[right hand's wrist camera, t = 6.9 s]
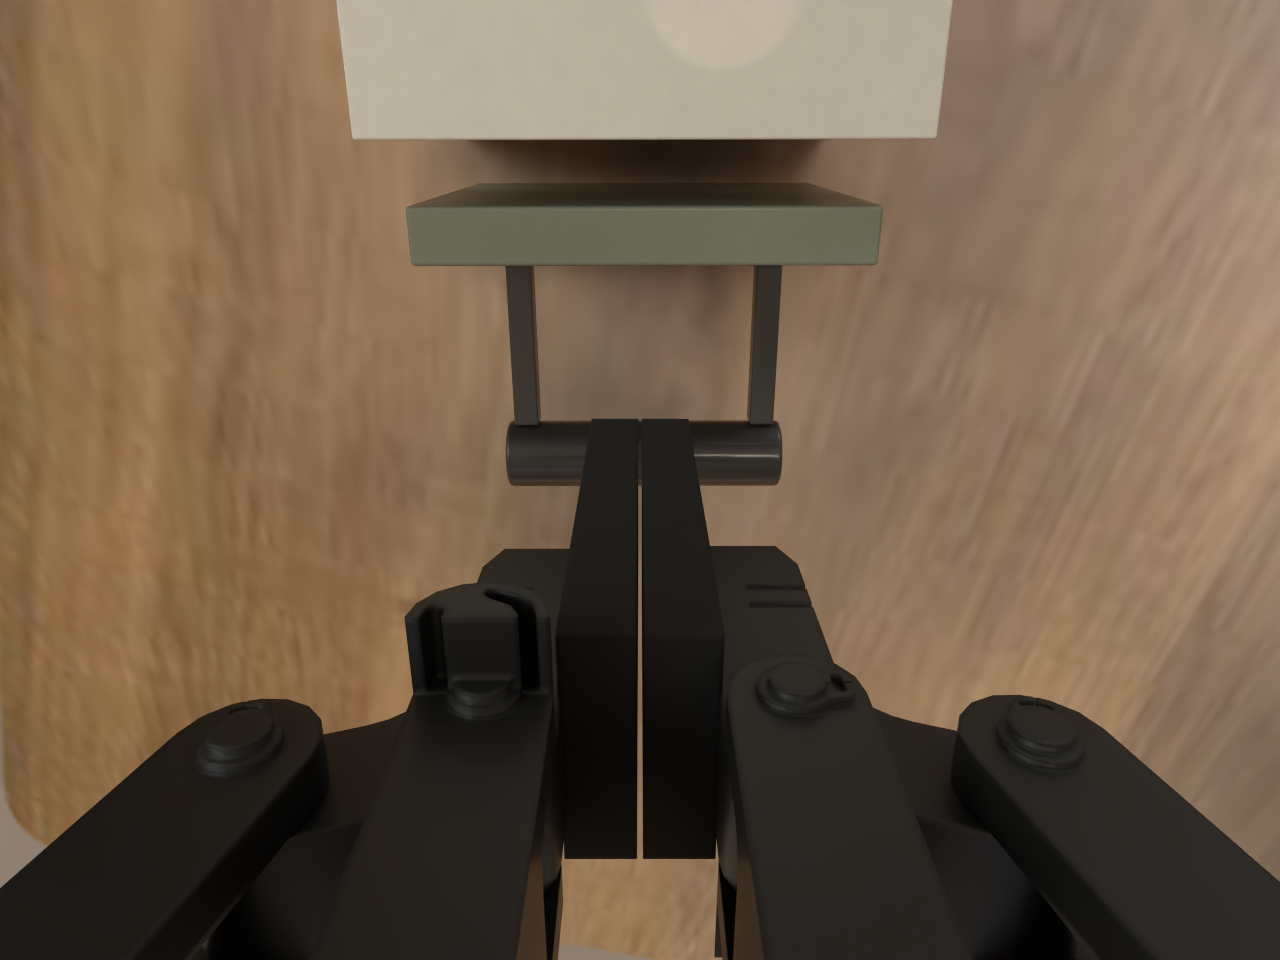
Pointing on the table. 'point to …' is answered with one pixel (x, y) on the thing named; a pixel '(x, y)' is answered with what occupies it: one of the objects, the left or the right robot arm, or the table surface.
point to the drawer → (644, 236)
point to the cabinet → (644, 69)
